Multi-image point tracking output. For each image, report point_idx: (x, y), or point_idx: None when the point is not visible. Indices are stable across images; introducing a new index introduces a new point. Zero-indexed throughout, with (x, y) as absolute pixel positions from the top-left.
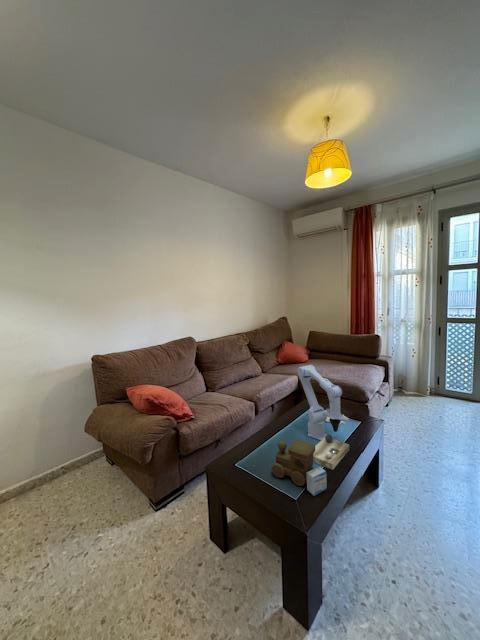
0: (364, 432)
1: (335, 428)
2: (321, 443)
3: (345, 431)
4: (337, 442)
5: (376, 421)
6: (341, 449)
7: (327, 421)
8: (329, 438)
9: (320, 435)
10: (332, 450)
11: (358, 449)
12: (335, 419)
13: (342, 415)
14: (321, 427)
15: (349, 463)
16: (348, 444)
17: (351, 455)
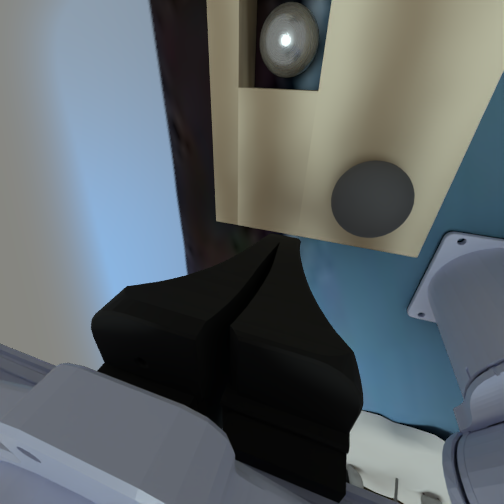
0: None
1: (254, 251)
2: (448, 107)
3: None
4: (295, 210)
5: (222, 429)
6: (234, 118)
7: (425, 432)
8: (356, 174)
9: (469, 268)
10: (298, 37)
11: (195, 232)
12: (185, 404)
13: (346, 467)
14: (487, 331)
15: (167, 27)
16: (221, 220)
17: (198, 148)
